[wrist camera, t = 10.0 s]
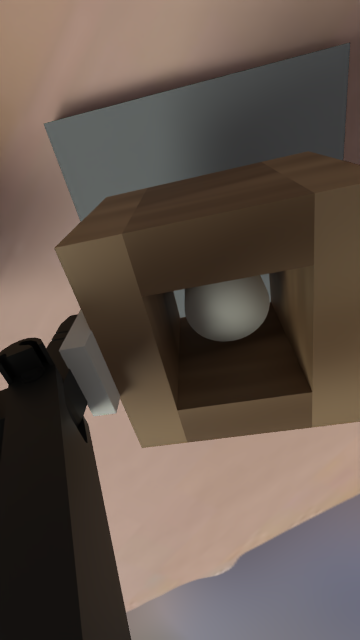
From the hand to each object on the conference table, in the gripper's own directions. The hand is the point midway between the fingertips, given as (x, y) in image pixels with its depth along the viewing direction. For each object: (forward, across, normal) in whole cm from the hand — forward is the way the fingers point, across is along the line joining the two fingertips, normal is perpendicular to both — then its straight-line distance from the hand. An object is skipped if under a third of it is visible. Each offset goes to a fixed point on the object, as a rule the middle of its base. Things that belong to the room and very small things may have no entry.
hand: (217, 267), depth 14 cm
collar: (0, 0, 0) cm, 0 cm away
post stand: (+6, 0, 0) cm, 6 cm away
